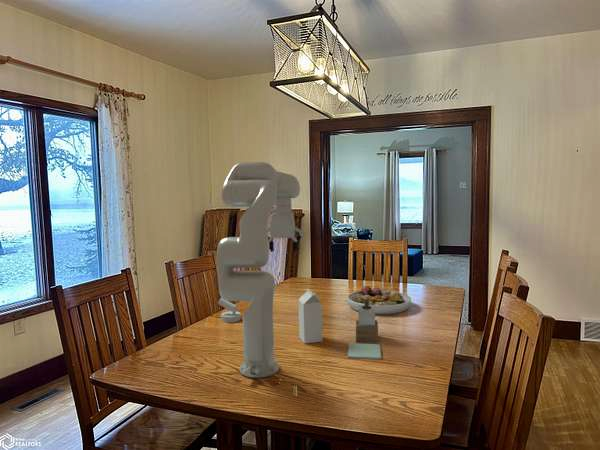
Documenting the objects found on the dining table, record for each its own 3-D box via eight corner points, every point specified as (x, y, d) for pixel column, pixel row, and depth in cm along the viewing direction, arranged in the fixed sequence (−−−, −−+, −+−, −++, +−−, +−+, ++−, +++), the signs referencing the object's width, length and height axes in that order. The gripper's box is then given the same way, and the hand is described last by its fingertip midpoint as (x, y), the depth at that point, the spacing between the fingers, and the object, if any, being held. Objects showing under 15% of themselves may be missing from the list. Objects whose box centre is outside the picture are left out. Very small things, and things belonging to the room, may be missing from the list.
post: (378, 342, 155) (377, 302, 153) (356, 342, 156) (355, 302, 155) (377, 335, 163) (377, 297, 161) (356, 334, 164) (356, 296, 162)
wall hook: (223, 295, 192) (243, 296, 188) (224, 315, 192) (244, 317, 189) (213, 300, 184) (234, 301, 180) (214, 321, 184) (235, 323, 181)
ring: (375, 325, 155) (375, 310, 155) (358, 325, 156) (358, 309, 156) (374, 320, 161) (374, 305, 161) (358, 320, 162) (358, 305, 162)
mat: (381, 359, 140) (381, 357, 140) (347, 357, 141) (347, 356, 141) (379, 345, 152) (379, 344, 152) (349, 344, 153) (349, 343, 153)
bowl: (424, 311, 193) (424, 294, 193) (367, 320, 182) (367, 302, 182) (387, 296, 221) (387, 282, 220) (336, 303, 210) (336, 288, 209)
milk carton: (304, 344, 155) (303, 293, 153) (299, 337, 162) (298, 289, 160) (322, 341, 157) (321, 291, 155) (316, 335, 164) (316, 287, 162)
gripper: (259, 211, 172) (261, 252, 173) (301, 210, 169) (302, 252, 170) (264, 210, 179) (265, 250, 180) (304, 209, 176) (305, 250, 178)
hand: (283, 251), depth 175 cm, fingers open, 9 cm apart
